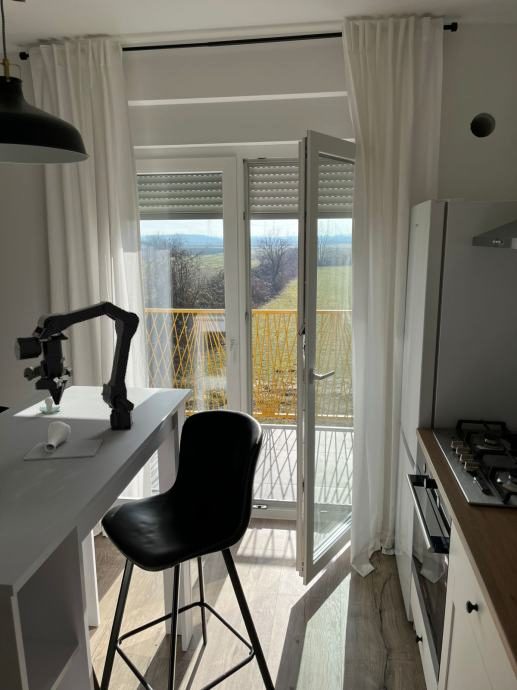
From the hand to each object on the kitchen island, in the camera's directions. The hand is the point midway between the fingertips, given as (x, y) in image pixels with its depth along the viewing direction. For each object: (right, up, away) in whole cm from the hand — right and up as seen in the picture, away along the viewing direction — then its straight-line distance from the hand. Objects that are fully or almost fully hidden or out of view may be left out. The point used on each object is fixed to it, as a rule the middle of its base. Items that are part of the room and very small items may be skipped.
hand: (57, 404), depth 166 cm
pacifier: (-15, -7, +34) cm, 38 cm away
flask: (0, -8, +2) cm, 9 cm away
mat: (+4, -13, -4) cm, 14 cm away
